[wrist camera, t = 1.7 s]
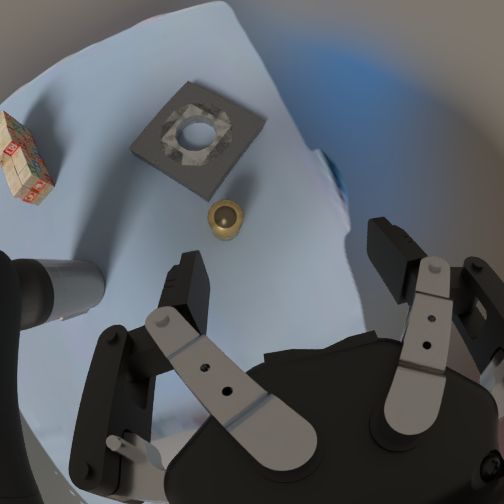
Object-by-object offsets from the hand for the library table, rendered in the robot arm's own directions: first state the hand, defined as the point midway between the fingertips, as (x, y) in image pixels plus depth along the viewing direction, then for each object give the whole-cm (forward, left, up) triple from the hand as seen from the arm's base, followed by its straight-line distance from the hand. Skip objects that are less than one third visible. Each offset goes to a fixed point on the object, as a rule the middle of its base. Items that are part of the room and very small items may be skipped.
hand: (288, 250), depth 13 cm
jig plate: (+14, +20, -36) cm, 43 cm away
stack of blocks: (-9, +52, -36) cm, 64 cm away
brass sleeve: (+3, +6, -36) cm, 37 cm away
